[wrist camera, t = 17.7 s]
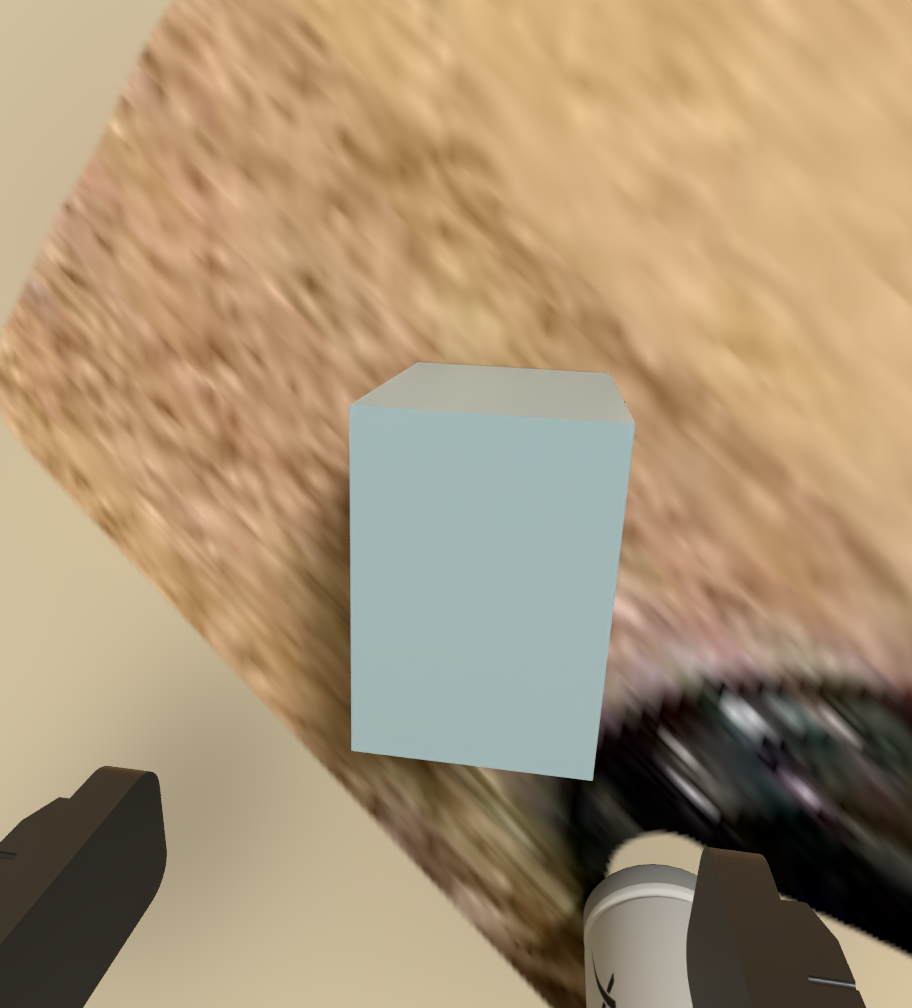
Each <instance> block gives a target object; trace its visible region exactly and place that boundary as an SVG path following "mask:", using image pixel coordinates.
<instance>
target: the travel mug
mask: <svg viewBox="0 0 912 1008" xmlns="http://www.w3.org/2000/svg"><path fill="white" fill-rule="evenodd" d="M696 881H697V876H696V875H695V874H692V873H690V872H688V871H685V870H683V869H680V868H675V867H671V866H667V865H656V864H649V865H637V866H633V867H629V868H625V869H622V870H620V871H618V872H615V873H613V874H611V875H610V876H608V877H607V878H605V879H604V880H602V881H601V882H600V883H599V884H598V885H597V886H596V887H595V888H594V890H593V891H592V893H591V894H590V896H589V897H588V899H587V901H586V905H585V908H584V916H583V927H584V946H585V982H586V1008H693V1006H692V1000H691V995H690V989H689V983H688V976H687V964H686V941H687V930H688V924H689V919H690V914H691V908H692V903H693V897H694V892H695V886H696Z"/></svg>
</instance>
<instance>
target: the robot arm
mask: <svg viewBox="0 0 912 1008" xmlns="http://www.w3.org/2000/svg"><path fill="white" fill-rule="evenodd" d="M166 858H167V850H166V841H165V831H164V822H163V813H162V804H161V794H160V785H159V780H158V777H157V776H156V774H154V773H153V772H149V771H142V770H134V769H127V768H119V767H111V766H104V767H101V768H99V769H98V770H96V771H95V772H94V773H93V774H92V775H91V776H90V777H89V778H88V779H87V781H86V782H85V783H84V784H83V785H82V786H81V787H80V788H79V789H78V790H77V791H76V792H75V793H74V794H73V796H72V797H71V798H70V799H68V798H61V797H59V798H57V799H56V800H54V801H52V802H51V803H49V804H48V805H46V806H44V807H43V808H41V809H40V810H38V811H36V812H35V813H33V814H32V815H30V816H29V817H27V818H25V819H23V820H22V821H21V822H20V823H19V824H18V825H17V826H16V827H15V828H14V829H13V830H12V831H11V832H10V833H9V834H8V835H7V836H6V837H5V838H4V839H3V840H2V841H1V842H0V1008H83V1007H84V1005H85V1004H86V1002H87V1001H88V999H89V997H90V996H91V994H92V993H93V991H94V990H95V988H96V987H97V985H98V983H99V982H100V981H101V979H102V977H103V976H104V974H105V973H106V971H107V970H108V968H109V967H110V965H111V963H112V962H113V960H114V959H115V957H116V956H117V954H118V953H119V951H120V949H121V948H122V947H123V945H124V944H125V942H126V941H127V938H128V937H129V936H130V934H131V933H132V931H133V930H134V928H135V927H136V925H137V924H138V922H139V921H140V919H141V917H142V916H143V914H144V913H145V911H146V910H147V908H148V907H149V905H150V904H151V902H152V900H153V899H154V897H155V895H156V893H157V891H158V889H159V887H160V884H161V881H162V878H163V874H164V871H165V866H166ZM686 964H687V976H688V983H689V989H690V995H691V1000H692V1006H693V1008H866V1006H865V1004H864V1002H863V999H862V997H861V995H860V992H859V991H858V990H856V987H855V980H854V978H853V975H852V973H851V970H850V968H849V966H848V964H847V961H846V958H845V956H844V954H843V951H842V949H841V946H840V944H839V942H838V940H837V939H836V938H835V936H834V935H833V934H832V933H831V932H830V930H829V929H828V928H827V927H826V926H825V924H823V922H822V921H821V920H820V918H819V917H818V916H817V915H816V914H815V912H814V911H813V910H812V909H811V908H810V906H809V905H808V904H807V903H801V902H794V901H787V900H781V899H780V896H779V894H778V891H777V888H776V885H775V882H774V879H773V877H772V874H771V871H770V868H769V865H768V863H767V861H766V859H765V858H764V856H763V855H761V854H754V853H747V852H739V851H732V850H724V849H717V848H709V847H705V848H704V850H703V852H702V855H701V860H700V865H699V870H698V876H697V881H696V886H695V892H694V897H693V903H692V908H691V914H690V919H689V924H688V930H687V941H686Z"/></svg>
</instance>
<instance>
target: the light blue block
mask: <svg viewBox="0 0 912 1008" xmlns="http://www.w3.org/2000/svg"><path fill="white" fill-rule="evenodd" d="M634 430H635V422H634V420H633V418H632V416H631V414H630V413H629V411H628V409H627V407H626V405H625V403H624V401H623V399H622V397H621V395H620V393H619V391H618V389H617V387H616V385H615V383H614V381H613V379H612V377H611V375H610V373H597V372H580V371H563V370H546V369H528V368H511V367H494V366H477V365H459V364H442V363H425V362H417V363H416V364H414V365H413V366H411V367H409V368H408V369H406V370H405V371H403V372H401V373H400V374H398V375H397V376H395V377H393V378H392V379H390V380H389V381H387V382H385V383H384V384H382V385H381V386H379V387H377V388H376V389H374V390H373V391H371V392H369V393H368V394H366V395H365V396H363V397H361V398H360V399H358V400H357V401H355V402H353V403H352V404H350V405H349V445H350V603H351V751H357V752H365V753H373V754H381V755H389V756H397V757H405V758H413V759H421V760H429V761H437V762H445V763H454V764H462V765H470V766H478V767H486V768H494V769H502V770H510V771H518V772H526V773H534V774H542V775H550V776H558V777H566V778H574V779H583V780H591V781H593V772H594V764H595V756H596V747H597V739H598V731H599V722H600V714H601V706H602V697H603V689H604V681H605V672H606V664H607V656H608V647H609V639H610V631H611V622H612V614H613V606H614V597H615V589H616V581H617V572H618V564H619V555H620V547H621V539H622V530H623V522H624V514H625V505H626V497H627V489H628V480H629V472H630V464H631V455H632V447H633V439H634Z"/></svg>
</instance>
